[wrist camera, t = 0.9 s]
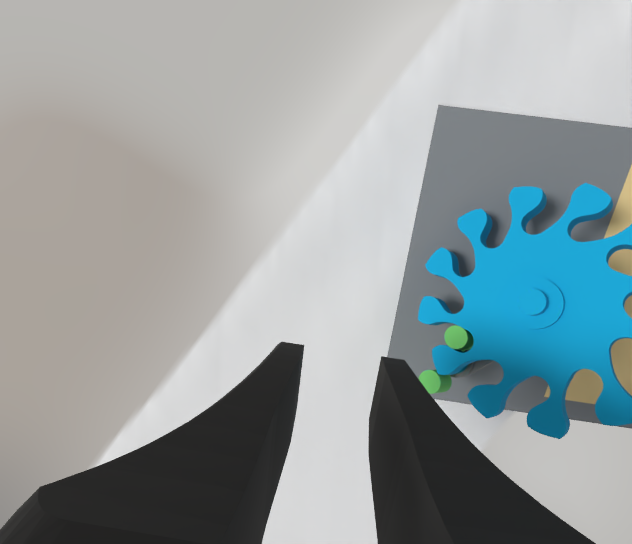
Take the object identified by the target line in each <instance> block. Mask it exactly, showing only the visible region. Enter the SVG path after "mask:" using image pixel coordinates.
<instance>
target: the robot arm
mask: <svg viewBox="0 0 632 544" xmlns="http://www.w3.org/2000/svg"><path fill="white" fill-rule="evenodd" d="M303 351H304V345H300V344H293V343H286V342H281V343H279V344H278V345H277V346H276V347H275V348H274V350H273V351H272V352H271V353H270V354H269V355H268V356H267V357H266V358H265V359H264V360H263V362H262V363H261V364H260V365H259V366H258V367H257V368H256V369H254V370H253V371H252V372H251V373H250V374H249V375H248V376H247V377H246V378H245V379H244V380H243V381H242V382H241V383H239V384H238V385H237V386H236V387H235V388H233V389H232V390H231V391H230V392H229V393H227V394H226V395H225V396H224V397H223V398H221V399H220V400H219V401H217V402H216V403H215V404H213V405H212V406H211V407H209V408H208V409H207V410H205V411H204V412H202V413H201V414H199V415H198V416H196V417H195V418H193V419H192V420H190V421H189V422H187V423H185V424H184V425H182V426H180V427H178V428H177V429H175V430H173V431H171V432H169V433H168V434H166V435H164V436H162V437H161V438H159V439H157V440H155V441H153V442H151V443H149V444H147V445H145V446H143V447H141V448H139V449H137V450H134V451H132V452H130V453H128V454H126V455H123V456H121V457H119V458H116V459H114V460H112V461H110V462H107V463H105V464H102V465H100V466H97V467H95V468H92V469H89V470H86V471H84V472H81V473H78V474H75V475H73V476H70V477H67V478H64V479H62V480H59V481H56V482H53V483H50V484H47V485H44V486H41V487H40V488H39V489H38V490H37V491H36V492H35V493H34V494H33V495H32V496H31V497H30V498H29V499H28V500H27V501H26V502H25V503H24V504H23V505H22V506H21V507H20V508H19V509H18V510H17V511H16V512H15V513H14V514H13V516H12V517H11V518H10V519H9V520H8V521H7V523H6V524H5V525H4V526H3V527H2V528H1V529H0V544H262V539H263V535H264V531H265V527H266V524H267V520H268V517H269V513H270V510H271V506H272V503H273V500H274V496H275V493H276V490H277V486H278V483H279V480H280V476H281V473H282V470H283V466H284V463H285V459H286V456H287V453H288V449H289V446H290V442H291V437H292V432H293V426H294V421H295V415H296V409H297V402H298V393H299V385H300V376H301V368H302V359H303ZM369 463H370V473H371V482H372V492H373V501H374V510H375V520H376V529H377V538H378V544H595V543H594V542H592V541H591V540H590V539H588V538H587V537H585V536H584V535H583V534H581V533H580V532H578V531H577V530H575V529H574V528H573V527H571V526H570V525H568V524H567V523H566V522H564V521H563V520H561V519H560V518H559V517H557V516H556V515H555V514H553V513H552V512H551V511H549V510H548V509H547V508H545V507H544V506H542V505H541V504H540V503H539V502H538V501H536V500H535V499H534V498H533V497H532V496H530V495H529V494H528V493H526V492H525V491H524V490H523V489H522V488H520V487H519V486H518V485H517V484H515V483H514V482H513V481H512V480H511V479H510V478H509V477H507V476H506V475H505V474H504V473H503V472H502V471H501V470H499V469H498V468H497V467H496V466H495V465H494V464H493V463H492V462H491V461H490V460H489V459H488V458H487V457H486V456H485V455H483V454H482V453H481V452H480V451H479V450H478V449H477V448H476V447H475V446H474V445H473V444H472V443H471V442H470V441H469V440H468V439H467V437H466V436H465V435H464V434H463V433H462V432H461V431H460V430H459V429H458V428H457V426H456V425H455V424H454V423H453V422H452V421H451V420H450V419H449V417H448V416H447V415H446V414H445V413H444V411H443V410H442V409H441V408H440V407H439V405H438V404H437V403H436V402H435V400H434V399H433V398H432V396H431V395H430V394H429V393H428V391H427V390H426V388H425V387H424V386H423V384H422V383H421V382H420V380H419V379H418V378H417V376H416V375H415V373H414V372H413V371H412V369H411V368H410V367H409V365H408V364H407V362H406V361H405V360H402V359H395V358H389V357H382V356H381V361H380V366H379V371H378V377H377V382H376V387H375V392H374V397H373V402H372V407H371V412H370V417H369Z"/></svg>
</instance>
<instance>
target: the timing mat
mask: <svg viewBox="0 0 632 544" xmlns="http://www.w3.org/2000/svg"><path fill="white" fill-rule="evenodd" d="M584 183H588V184H591V185H593V186H596V187H598V188H600V189H602V190H603V191H605V192H606V193H607V194H608V195H609V196H610V197H611V198H612V201H613V207H612V209H611V211H610V212H609V213H608V214H607V215H606V216H604V217H603V218H600V219H597V220H592V221H585V222H581V223H579V224H577V225H576V226H575V227H574V228H573V229H572V231H571V239H573V240H575V241H577V242H588V241H595V240H600V239H605V238H608V237H611V236H614V235H616V234H618V233H620V232H622V231H623V230H625V229H626V228H627V227H629V226H630V225H631V224H632V128H627V127H619V126H610V125H602V124H594V123H585V122H577V121H568V120H560V119H551V118H543V117H535V116H526V115H518V114H509V113H501V112H492V111H484V110H476V109H467V108H459V107H450V106H442V105H438V110H437V115H436V120H435V125H434V130H433V135H432V140H431V145H430V150H429V154H428V159H427V164H426V169H425V174H424V179H423V184H422V189H421V194H420V199H419V204H418V208H417V213H416V218H415V223H414V228H413V233H412V238H411V243H410V248H409V253H408V258H407V262H406V267H405V272H404V277H403V282H402V287H401V292H400V297H399V302H398V307H397V312H396V317H395V321H394V326H393V331H392V336H391V341H390V346H389V351H388V356H387V357H389V358H395V359H402V360H405V361H406V362H407V364H408V365H409V367H410V368H411V369H412V371H413V372H414V373H415V375H416V376H417V378H418V379H419V376H420V374H421V373H422V372H423V371H425V370H436V368H435V365H434V362H433V358H432V349H433V348H434V347H436V346H438V345H446V342H445V339H444V335H445V332H446V330H447V329H448V328H449V327H451V326H458V325H456V324H453V323H445V324H440V325H429V324H424V323H422V322H420V321H419V320H418V312H419V307H420V303H421V301H422V299H423V297H425V296H432V297H435V298H439V299H441V300H443V301H444V302H445V303H446V305H447V306H448V308H449V309H450V311H451V312H452V313H453V314H456V313H458V312H460V311H461V310H462V308H463V307H464V298H463V296H462V295H461V293H460V292H459V290H458V289H457V288H456V286H455V285H454V284H453V283H452V282H451V281H449V280H448V279H446V278H442V277H439V276H436V275H434V274H432V273H430V272H429V271H428V270H427V269H426V266H425V264H426V263H427V261H428V260H429V258H430V257H431V256H432V254H433V253H434V252H435V251H436V250H438V249H439V248H441V247H442V248H445V249H447V250H449V251H451V252H452V253H454V254H455V255H456V256H457V258H458V262H459V273H460V275H461V276H462V277H466V276H469V275H470V274H471V273H472V272H473V271H474V269H475V254H474V249H473V246H472V243H471V242H470V240H469V238H468V237H467V236H466V235H465V234H464V233H463V232H461V231H460V229H459V228H458V224H457V221H458V218H459V217H461V216H462V215H464V214H466V213H468V212H470V211H473V210H476V209H481V208H482V209H483V210H484V211H485V212H486V213H487V214H488V215H490V217H491V219H492V223H493V224H492V228H491V231H490V233H489V235H488V237H487V239H486V245H487V247H488V248H496V247H498V246H500V245H501V244H502V243H503V241H504V239H505V237H506V235H507V233H508V231H509V229H510V226H511V221H512V211H511V206H510V203H509V194H510V192H511V190H512V189H513V188H514V187H522V186H531V187H537V188H541V189H542V190H543V192H544V193H545V195H546V197H547V203H546V206H545V208H544V209H543V210H542V211H541V212H540V213H539V214H538V215H536V216H535V217H533V218H532V219H531V220H530V221H529V222H528V223H527V226H526V232H527V233H528V234H531V235H537V234H540V233H542V232H543V231H545V230H546V229H548V228H549V227H551V226H552V225H553V224H555V223H556V222H557V221H558V220H559V219H560V218H561V217H562V216H563V214H564V213H565V211H566V210H567V208H568V206H569V204H570V200H571V196H572V194H573V192H574V191H575V189H576V188H577V187H579V186H580V185H582V184H584ZM608 265H609V267H610V268H611V269H613V270H615V271H617V272H620V273H623V274H626V275H629V276H632V250H630V249H622V250H618V251H616V252H614V253H613V254H612V255H611V256H610V258H609V261H608ZM624 309H625V312H626V313H627V314H628V315H629V316H630V317H631V319H632V295H631V296H630V297H629V298H627V300H626V301H625V304H624ZM611 357H612V364H613V368H614V372H615V374H616V376H617V379H618V380H619V382H620V383H621V385H622V386H623V387H624V388H625V390H626V391H627V392H628V393H629V394H630V395H632V339H630V338H623V339H620V340H617V341H616V342H615V343H614V344H613V345H612V348H611ZM503 376H504V372H503V368H502V367H501V365H500V364H499V363H498V362H496V361H494V362H493V363H491V364H489V365H487V366H486V367H484V368H482V369H480V370H479V371H477V372H475V373H473V374H472V375H470V376H468V377H461V378H454V377H451V379H452V384H451V387H450V389H449V390H448V391H446V392H441V393H433V394H430V395H431V396H432V398H433V399H439V400H445V401H452V402H459V403H465V404H472V403H471V402H470V400H469V398H468V397H467V396H468V393H469V391H470V390H471V389H472V388H473V387H475V386H478V385H485V384H493V385H497V384H499V383H500V382H501V381H502V379H503ZM602 390H603V381H602V379H601V377H600V376H599V375H598V374H597V373H596V372H594V371H592V370H589V369H581V370H579V371H578V372H576V374H575V375H574V377H573V379H572V380H571V382H570V384H569V386H568V389H567V392H566V397H565V406H566V412H567V415H568V418H569V419H572V420H579V421H586V422H592V423H599V424H602V423H601V422H600V421H599V419H598V418H597V416H596V413H595V404H596V401H597V399H598V397H599V396H600V394H601V392H602ZM549 396H550V387H549V385H548V383H547V382H546V381H545V380H544V379H543V378H541V377H538V376H532V377H530V378H528V379H526V380H525V381H523V382H521V383H520V384H518V385H517V386H516V387H515V388H514V389H513V390H512V391H511V393H510V394H509V396H508V398H507V401H506V405H505V408H504V409H505V410H512V411H519V412H526V413H529V411H530V410H531V409H532V408H533V407H535V406H537V405H539V404H541V403H543V402H545V401H546V400H547V399H548V398H549ZM619 427H626V428H632V423H631V424H626V425H620V426H619Z"/></svg>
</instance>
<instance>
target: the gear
mask: <svg viewBox="0 0 632 544" xmlns="http://www.w3.org/2000/svg"><path fill="white" fill-rule="evenodd" d="M509 203H510V206H511V211H512V221H511V226H510V229H509V231H508V233H507V235H506V237H505V239H504V241H503V243H502V244H501V245H500V246H498V247H496V248H488V247H487V245H486V239H487V237H488V235H489V233H490V231H491V228H492V224H493V223H492V219H491V217H490V215H488V214H487V213H486V212H485V211H484V210H483V209H482V208H481V209H476V210H473V211H470V212H468V213H466V214H464V215H462V216H461V217H459V218H458V221H457V224H458V228H459V229H460V231H461V232H463V233H464V234H465V235H466V236H467V237H468V238H469V240H470V242H471V243H472V246H473V249H474V254H475V269H474V271H473V272H472V273H471V274H470V275H469V276H466V277H462V276H461V275H460V273H459V262H458V258H457V256H456V255H455V254H454V253H452V252H451V251H449V250H447V249H445V248H442V247H441V248H439V249H438V250H436V251H435V252H434V253H433V254H432V256H431V257H430V258H429V260H428V261H427V263H426V264H425V266H426V269H427V270H428V271H429V272H430V273H432V274H434V275H436V276H439V277H442V278H446V279H448V280H449V281H451V282H452V283H453V284H454V285H455V286H456V288H457V289H458V290H459V292H460V293H461V295H462V296H463V298H464V307H463V308H462V310H461V311H460V312H458V313H456V314H453V313H452V312H451V311H450V309H449V308H448V306H447V305H446V303H445V302H444V301H443V300H441V299H439V298H435V297H432V296H425V297H423V299H422V301H421V303H420V307H419V312H418V320H419V321H420V322H422V323H424V324H429V325H440V324H445V323H453V324H456V325H458V326H451V327H449V328H448V329H447V330H446V332H445V335H444V339H445V342H446V345H438V346H436V347H434V348H433V349H432V358H433V362H434V365H435V368H436V370H425V371H423V372H422V373H421V374H420V376H419V380H420V382H421V383H422V384H423V386H424V387H425V388H426V390H427V391H428V393H429V394H433V393H441V392H446V391H448V390H449V389H450V387H451V384H452V379H451V377H454V378H461V377H468V376H470V375H472V374H473V373H475V372H477V371H479V370H480V369H482V368H484V367H486V366H487V365H489V364H491V363H493V362H494V361H496V362H498V363H499V364H500V365H501V367H502V368H503V372H504V376H503V379H502V381H501V382H500V383H499V384H497V385H493V384H485V385H478V386H475V387H473V388H472V389H471V390H470V391H469V393H468V396H467V397H468V398H469V400H470V402H471V403H472V405H473V406H474V407H475V408H476V409H477V410H478V411H479V412H480V413H481V414H482V415H483V416H485V417H486V418H491V417H494V416H497V415H499V414H500V413H501V412H502V411H503V410H504V408H505V405H506V401H507V398H508V396H509V394H510V393H511V391H512V390H513V389H514V388H515V387H516V386H517V385H518V384H520V383H521V382H523V381H525V380H526V379H528V378H530V377H532V376H538V377H541V378H543V379H544V380H545V381H546V382H547V383H548V385H549V387H550V396H549V398H548V399H547V400H546V401H545V402H543V403H541V404H539V405H537V406H535V407H533V408H532V409H531V410H530V411H529V413H528V415H527V424H528V427H530V428H531V429H533V430H534V431H537V432H539V433H541V434H544V435H547V436H550V437H554V438H558V439H560V438H562V437H563V436H564V435H565V434H566V433H567V432H568V430H569V426H570V422H569V418H568V415H567V412H566V406H565V397H566V392H567V389H568V386H569V384H570V382H571V380H572V379H573V377H574V375H575V374H576V372H578V371H579V370H581V369H589V370H592V371H594V372H596V373H597V374H598V375H599V376H600V377H601V379H602V381H603V390H602V392H601V394H600V396H599V397H598V399H597V401H596V404H595V413H596V416H597V418H598V419H599V421H600V422H601V423H602V424H603V425H610V426H620V425H626V424H631V423H632V395H630V394H629V393H628V392H627V391H626V390H625V388H624V387H623V386H622V385H621V383H620V382H619V380H618V379H617V376H616V374H615V372H614V368H613V364H612V357H611V348H612V345H613V344H614V343H615V342H616V341H617V340H620V339H623V338H630V339H632V319H631V317H630V316H629V315H628V314H627V313H626V312H625V309H624V304H625V301H626V300H627V298H629V297H630V296H631V295H632V276H629V275H626V274H623V273H620V272H617V271H615V270H613V269H611V268H610V267H609V265H608V261H609V258H610V256H611V255H612V254H613V253H614V252H616V251H618V250H622V249H630V250H632V224H631V225H630V226H629V227H627V228H626V229H625V230H623V231H622V232H620V233H618V234H616V235H614V236H611V237H608V238H605V239H600V240H595V241H588V242H577V241H575V240H573V239H571V231H572V229H573V228H574V227H575V226H576V225H577V224H579V223H581V222H585V221H592V220H597V219H600V218H603V217H604V216H606V215H607V214H608V213H609V212H610V211H611V209H612V207H613V201H612V198H611V197H610V196H609V195H608V194H607V193H606V192H605V191H603V190H602V189H600V188H598V187H596V186H593V185H591V184H588V183H584V184H582V185H580V186H579V187H577V188H576V189H575V191H574V192H573V194H572V196H571V200H570V204H569V206H568V208H567V210H566V211H565V213H564V214H563V216H562V217H561V218H560V219H559V220H558V221H557V222H556V223H555V224H553V225H552V226H551V227H549V228H548V229H546V230H545V231H543V232H542V233H540V234H537V235H531V234H528V233H527V232H526V226H527V223H528V222H529V221H530V220H531V219H532V218H533V217H535V216H536V215H538V214H539V213H540V212H541V211H542V210H543V209H544V208H545V206H546V203H547V197H546V195H545V193H544V192H543V190H542V189H541V188H537V187H531V186H522V187H514V188H513V189H512V190H511V192H510V194H509Z"/></svg>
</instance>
